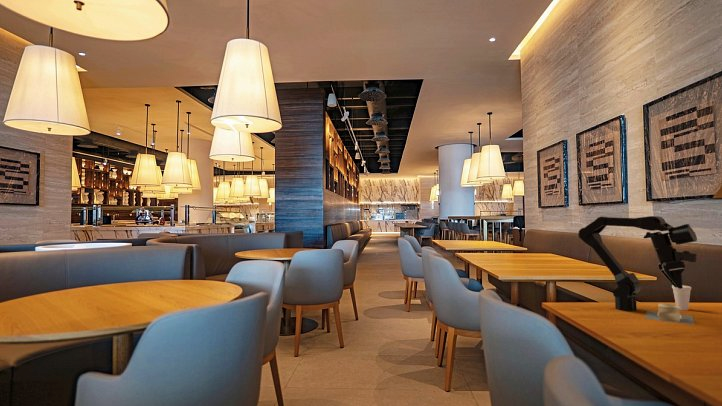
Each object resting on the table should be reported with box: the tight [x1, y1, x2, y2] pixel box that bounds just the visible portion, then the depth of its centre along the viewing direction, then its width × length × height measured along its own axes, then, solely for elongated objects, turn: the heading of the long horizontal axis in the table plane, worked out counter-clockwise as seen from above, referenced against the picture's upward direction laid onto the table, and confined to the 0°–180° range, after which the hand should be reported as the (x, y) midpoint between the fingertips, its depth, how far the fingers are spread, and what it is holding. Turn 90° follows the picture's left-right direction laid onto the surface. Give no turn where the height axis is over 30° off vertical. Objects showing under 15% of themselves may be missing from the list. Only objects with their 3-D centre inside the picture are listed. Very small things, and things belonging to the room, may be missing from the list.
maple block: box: [657, 302, 681, 322], centre depth 139 cm, size 6×6×5 cm
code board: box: [644, 310, 695, 326], centre depth 141 cm, size 14×15×1 cm
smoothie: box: [671, 284, 692, 311], centre depth 157 cm, size 6×6×14 cm
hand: (678, 287), depth 139 cm, fingers open, 9 cm apart
